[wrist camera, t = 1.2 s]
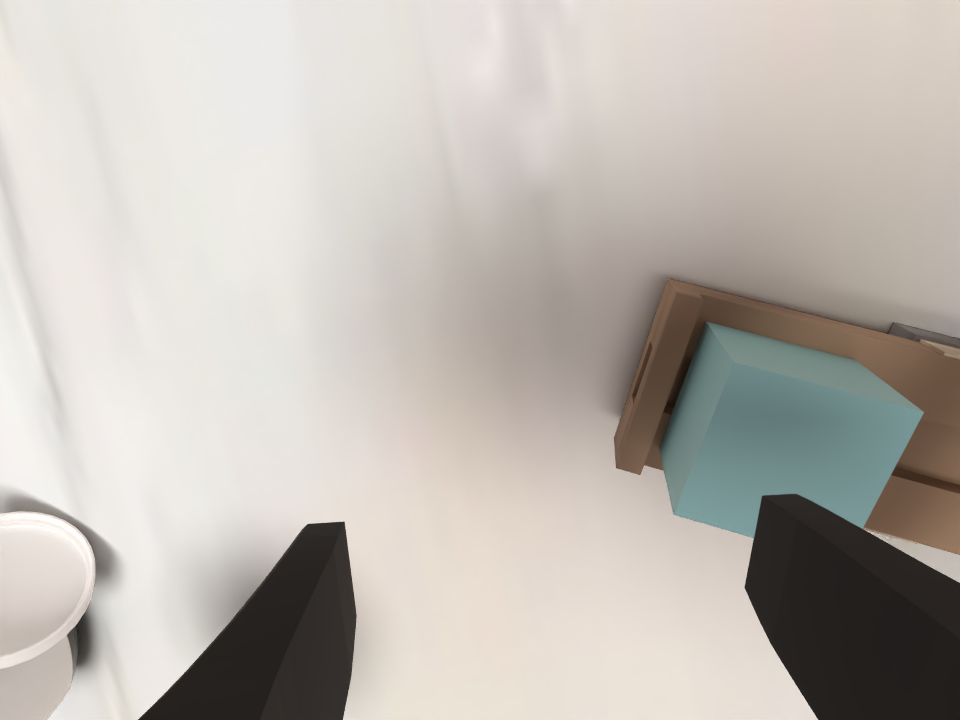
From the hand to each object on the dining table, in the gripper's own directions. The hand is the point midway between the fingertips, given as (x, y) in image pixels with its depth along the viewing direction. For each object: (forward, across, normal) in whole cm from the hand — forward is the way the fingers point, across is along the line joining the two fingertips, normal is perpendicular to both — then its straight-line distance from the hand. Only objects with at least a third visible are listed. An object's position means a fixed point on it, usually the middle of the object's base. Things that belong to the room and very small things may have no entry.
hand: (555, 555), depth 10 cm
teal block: (+9, -8, +2) cm, 12 cm away
